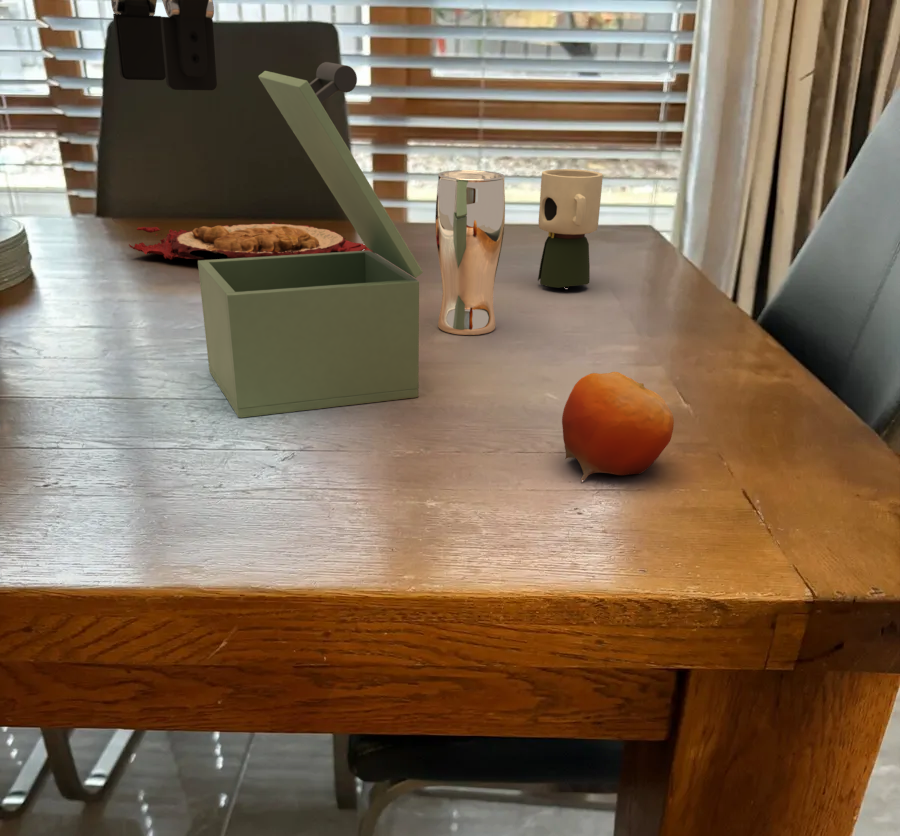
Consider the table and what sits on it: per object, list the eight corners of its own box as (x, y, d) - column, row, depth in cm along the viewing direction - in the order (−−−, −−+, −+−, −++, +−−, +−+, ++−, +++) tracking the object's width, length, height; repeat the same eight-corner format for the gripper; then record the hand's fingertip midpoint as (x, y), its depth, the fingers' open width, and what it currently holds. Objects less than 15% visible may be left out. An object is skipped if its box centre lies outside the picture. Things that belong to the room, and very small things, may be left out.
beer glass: (462, 340, 99) (467, 181, 92) (420, 325, 104) (421, 172, 96) (513, 329, 103) (521, 176, 95) (470, 315, 108) (475, 167, 100)
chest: (238, 418, 79) (227, 295, 74) (209, 371, 89) (197, 260, 84) (418, 397, 84) (419, 281, 79) (372, 355, 94) (370, 250, 89)
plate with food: (295, 285, 118) (295, 256, 117) (129, 255, 127) (126, 227, 126) (389, 253, 137) (390, 227, 135) (238, 229, 146) (237, 204, 144)
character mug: (525, 277, 124) (532, 166, 117) (579, 276, 125) (589, 166, 118) (545, 298, 115) (553, 179, 108) (603, 297, 116) (615, 179, 109)
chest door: (298, 87, 69) (354, 43, 69) (257, 76, 79) (306, 38, 79) (415, 278, 79) (464, 240, 79) (366, 247, 89) (409, 213, 89)
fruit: (518, 437, 73) (575, 342, 71) (593, 477, 77) (650, 388, 75) (566, 479, 66) (631, 376, 64) (645, 520, 71) (709, 424, 68)
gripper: (36, -229, 62) (75, 75, 71) (118, -282, 50) (154, 93, 59) (152, -210, 66) (176, 77, 75) (255, -255, 54) (270, 95, 62)
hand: (166, 84), depth 67 cm, fingers open, 9 cm apart
